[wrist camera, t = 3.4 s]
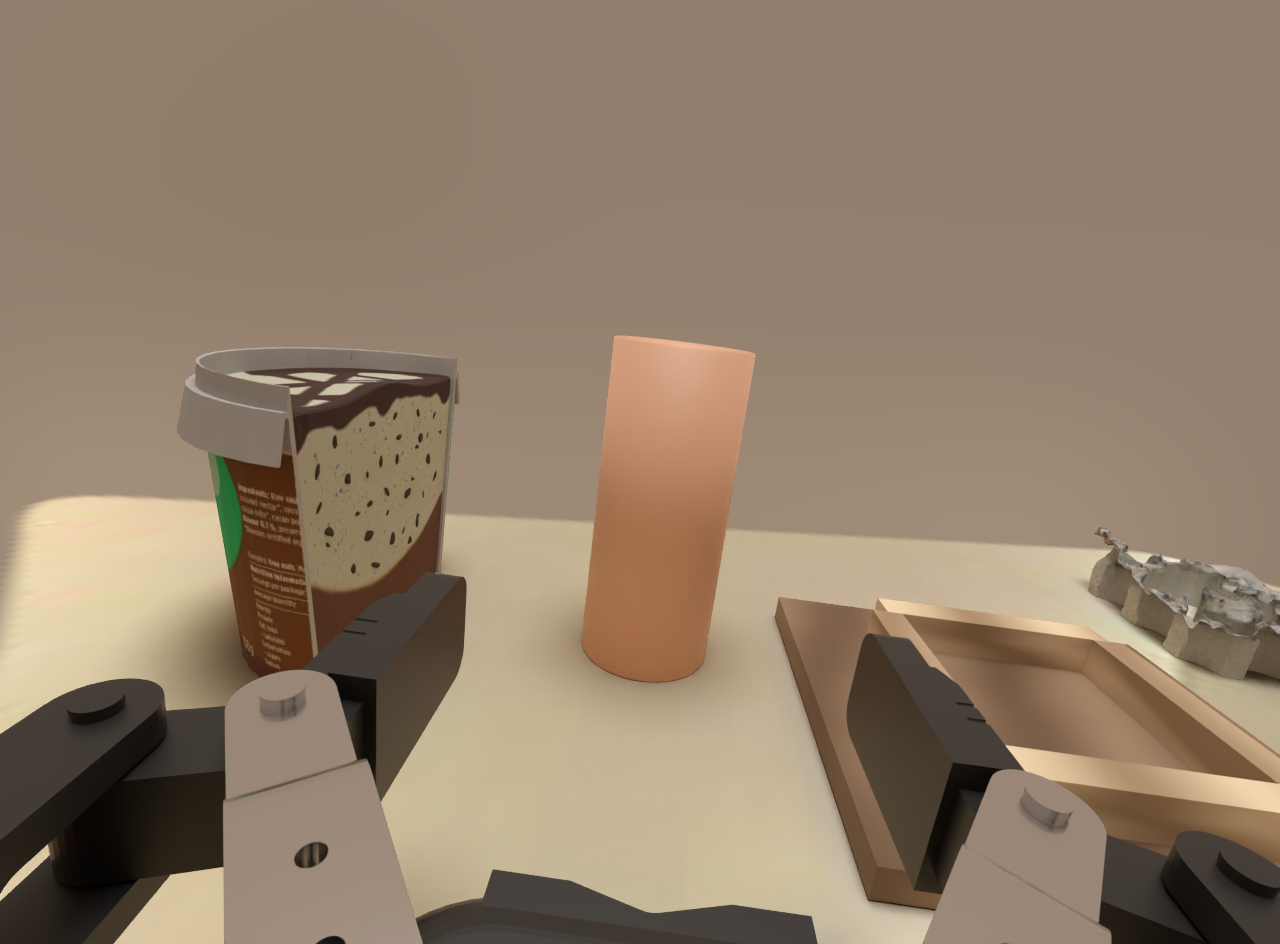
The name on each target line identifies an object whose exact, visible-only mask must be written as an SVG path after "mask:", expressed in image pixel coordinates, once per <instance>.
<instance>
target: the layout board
mask: <svg viewBox="0 0 1280 944" xmlns="http://www.w3.org/2000/svg"><path fill="white" fill-rule="evenodd" d="M775 618H776V621H777V624H778V627H779V630H780V633H781V636H782V639H783V642H784V645H785V648H786V651H787V654H788V657H789V660H790V663H791V666H792V669H793V672H794V675H795V678H796V681H797V684H798V688H799V691H800V694H801V697H802V700H803V703H804V706H805V709H806V712H807V715H808V718H809V721H810V724H811V727H812V730H813V733H814V736H815V739H816V742H817V745H818V748H819V751H820V754H821V757H822V760H823V763H824V766H825V769H826V772H827V776H828V779H829V782H830V785H831V788H832V791H833V794H834V797H835V800H836V803H837V806H838V809H839V812H840V815H841V818H842V821H843V824H844V827H845V830H846V833H847V836H848V839H849V842H850V845H851V848H852V851H853V854H854V857H855V860H856V864H857V867H858V870H859V873H860V876H861V879H862V882H863V885H864V888H865V891H866V894H867V897H868V899H870V900H876V901H883V902H890V903H897V904H903V905H910V906H917V907H923V908H930V909H937V906H938V904H939V901H940V899H941V896H942V894H935V893H928V892H921V891H915V890H913V888H912V885H911V883H910V880H909V878H908V875H907V873H906V871H905V868H904V866H903V863H902V861H901V859H900V856H899V854H898V851H897V849H896V847H895V844H894V842H893V839H892V837H891V834H890V832H889V830H888V827H887V825H886V822H885V820H884V818H883V815H882V813H881V810H880V808H879V806H878V803H877V801H876V798H875V796H874V793H873V791H872V789H871V786H870V784H869V781H868V779H867V777H866V774H865V772H864V769H863V767H862V765H861V762H860V760H859V757H858V755H857V752H856V750H855V748H854V745H853V743H852V740H851V738H850V735H849V732H848V727H847V703H848V698H849V694H850V690H851V686H852V682H853V677H854V673H855V669H856V665H857V661H858V657H859V653H860V649H861V645H862V642H863V639H864V637H865V636H866V635H867V634H868V633H873V634H880V635H888V636H895V637H902V638H908V639H910V640H911V641H912V643H913V644H914V645H915V647H916V648H917V650H918V651H919V652H920V654H921V655H922V657H923V658H924V659H925V661H926V662H927V663H928V665H929V666H930V667H935V668H937V669H938V670H940V671H941V672H942V673H944V674H945V675H946V676H948V677H949V678H950V679H952V680H953V681H954V682H956V683H957V684H958V685H959V686H960V687H961V688H962V689H963V691H964V692H965V693H966V695H967V696H968V697H969V699H970V700H971V701H972V702H973V704H974V708H977V709H978V710H979V712H980V713H981V714H982V716H983V717H984V718H985V719H986V724H989V725H990V726H991V727H992V729H993V730H994V731H995V732H996V734H997V735H998V736H999V738H1000V739H1001V740H1002V742H1003V743H1004V744H1005V745H1006V747H1007V748H1008V749H1009V751H1010V752H1011V753H1012V755H1013V756H1014V757H1015V759H1016V760H1017V761H1018V762H1019V764H1020V765H1021V766H1022V768H1023V769H1024V770H1025V771H1026V772H1030V773H1034V774H1037V775H1039V776H1042V777H1044V778H1047V779H1049V780H1051V781H1053V782H1055V783H1057V784H1059V785H1061V786H1062V787H1064V788H1066V789H1067V790H1069V791H1071V792H1072V793H1073V794H1075V795H1076V796H1077V797H1079V798H1080V799H1081V800H1082V801H1084V802H1085V803H1086V804H1087V805H1088V806H1089V807H1090V808H1091V809H1092V810H1093V811H1094V812H1095V813H1096V814H1097V816H1098V817H1099V818H1100V820H1101V821H1102V823H1103V825H1104V827H1105V830H1106V834H1107V835H1110V836H1112V837H1115V838H1118V839H1121V840H1123V841H1126V842H1129V843H1132V844H1135V845H1137V846H1140V847H1143V848H1146V849H1149V850H1151V851H1154V852H1157V853H1160V854H1163V855H1165V856H1168V854H1169V852H1170V850H1171V847H1172V845H1173V843H1174V841H1175V838H1176V836H1177V835H1178V834H1179V833H1181V832H1184V831H1201V832H1206V833H1210V834H1214V835H1217V836H1220V837H1223V838H1226V839H1228V840H1231V841H1233V842H1235V843H1238V844H1240V845H1242V846H1244V847H1246V848H1248V849H1250V850H1252V851H1253V852H1255V853H1257V854H1259V855H1261V856H1262V857H1264V858H1266V859H1267V860H1269V861H1270V862H1272V863H1274V864H1275V865H1276V866H1278V867H1279V868H1280V755H1279V754H1278V753H1276V752H1275V751H1274V750H1272V749H1271V748H1269V747H1268V746H1267V745H1265V744H1264V743H1263V742H1261V741H1260V740H1258V739H1257V738H1256V737H1254V736H1253V735H1252V734H1250V733H1249V732H1247V731H1246V730H1245V729H1243V728H1242V727H1241V726H1239V725H1238V724H1236V723H1235V722H1234V721H1232V720H1231V719H1230V718H1228V717H1227V716H1225V715H1224V714H1223V713H1221V712H1220V711H1219V710H1217V709H1216V708H1214V707H1213V706H1212V705H1210V704H1209V703H1208V702H1206V701H1205V700H1203V699H1202V698H1201V697H1199V696H1198V695H1197V694H1195V693H1194V692H1192V691H1191V690H1190V689H1188V688H1187V687H1186V686H1184V685H1183V684H1181V683H1180V682H1179V681H1177V680H1176V679H1175V678H1173V677H1172V676H1170V675H1169V674H1168V673H1166V672H1165V671H1164V670H1162V669H1161V668H1159V667H1158V666H1157V665H1155V664H1154V663H1153V662H1151V661H1150V660H1148V659H1147V658H1146V657H1144V656H1143V655H1142V654H1140V653H1139V652H1137V651H1136V650H1135V649H1133V648H1132V647H1130V646H1129V645H1125V644H1120V643H1113V642H1108V641H1106V640H1105V639H1104V638H1102V637H1101V636H1100V635H1098V634H1097V633H1096V632H1094V631H1093V630H1092V629H1090V628H1089V627H1086V626H1079V625H1071V624H1064V623H1057V622H1049V621H1042V620H1035V619H1027V618H1020V617H1013V616H1005V615H998V614H991V613H983V612H976V611H969V610H961V609H954V608H947V607H939V606H932V605H925V604H917V603H910V602H903V601H895V600H888V599H881V598H878V600H877V604H876V608H875V610H870V609H862V608H855V607H848V606H841V605H833V604H826V603H819V602H811V601H804V600H797V599H789V598H782V597H779V599H778V604H777V609H776V614H775Z"/></svg>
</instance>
